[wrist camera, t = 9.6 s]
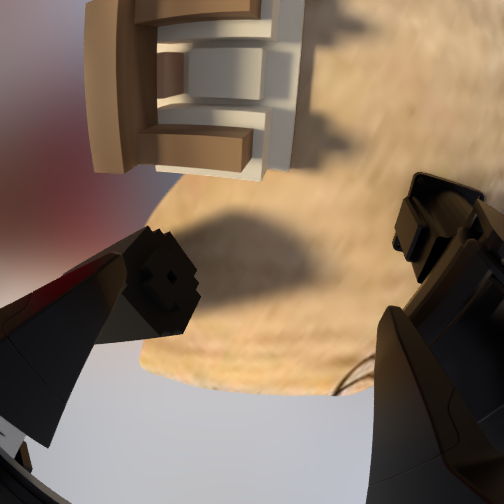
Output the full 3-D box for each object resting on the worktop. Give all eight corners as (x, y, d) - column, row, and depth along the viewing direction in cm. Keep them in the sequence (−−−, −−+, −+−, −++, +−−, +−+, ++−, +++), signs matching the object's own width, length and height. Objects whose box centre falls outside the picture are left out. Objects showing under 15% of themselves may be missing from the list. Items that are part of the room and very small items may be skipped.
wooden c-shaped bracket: (262, -9, 10) (243, -31, 7) (251, 158, 16) (232, 184, 13) (128, 8, 11) (86, 3, 8) (131, 150, 17) (94, 172, 14)
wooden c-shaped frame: (305, -12, 12) (302, -28, 9) (289, 168, 20) (283, 187, 17) (136, 1, 13) (108, -4, 11) (139, 154, 21) (114, 170, 18)
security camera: (77, 255, 31) (27, 311, 23) (182, 193, 23) (112, 270, 15) (110, 297, 34) (69, 355, 26) (225, 259, 26) (182, 350, 18)
